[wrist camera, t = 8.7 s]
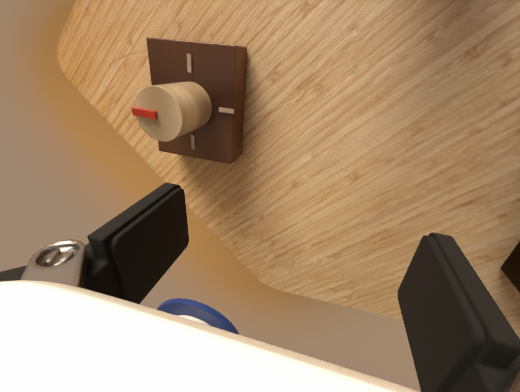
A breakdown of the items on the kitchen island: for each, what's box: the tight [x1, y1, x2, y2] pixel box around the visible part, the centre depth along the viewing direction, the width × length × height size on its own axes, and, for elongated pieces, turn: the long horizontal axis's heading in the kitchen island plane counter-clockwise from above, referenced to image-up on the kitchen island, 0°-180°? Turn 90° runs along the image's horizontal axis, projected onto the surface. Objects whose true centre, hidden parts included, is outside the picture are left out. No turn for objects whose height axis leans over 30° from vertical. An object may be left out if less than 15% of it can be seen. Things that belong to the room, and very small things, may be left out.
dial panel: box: [147, 38, 247, 164], centre depth 24 cm, size 10×8×3 cm
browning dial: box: [132, 81, 212, 142], centre depth 21 cm, size 4×4×5 cm
